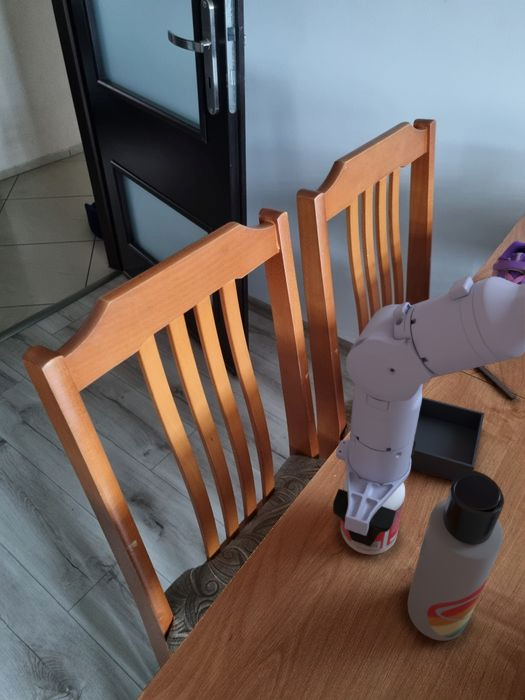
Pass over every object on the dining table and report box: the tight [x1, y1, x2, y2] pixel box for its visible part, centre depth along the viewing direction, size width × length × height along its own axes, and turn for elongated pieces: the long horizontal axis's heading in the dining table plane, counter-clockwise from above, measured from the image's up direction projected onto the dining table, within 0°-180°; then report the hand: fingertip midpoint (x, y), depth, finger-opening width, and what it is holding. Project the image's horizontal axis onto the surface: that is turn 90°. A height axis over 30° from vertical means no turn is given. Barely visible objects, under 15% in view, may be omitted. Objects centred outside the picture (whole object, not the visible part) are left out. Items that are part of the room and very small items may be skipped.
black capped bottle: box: [407, 470, 505, 642], centre depth 47 cm, size 6×6×20 cm
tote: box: [411, 396, 485, 482], centre depth 68 cm, size 9×9×3 cm
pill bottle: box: [340, 474, 406, 556], centre depth 57 cm, size 6×6×11 cm
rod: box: [476, 365, 517, 401], centre depth 81 cm, size 1×19×1 cm
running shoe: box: [490, 240, 525, 285], centre depth 86 cm, size 10×23×10 cm, turn 155°
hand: (370, 513), depth 59 cm, fingers closed on pill bottle, 6 cm apart
